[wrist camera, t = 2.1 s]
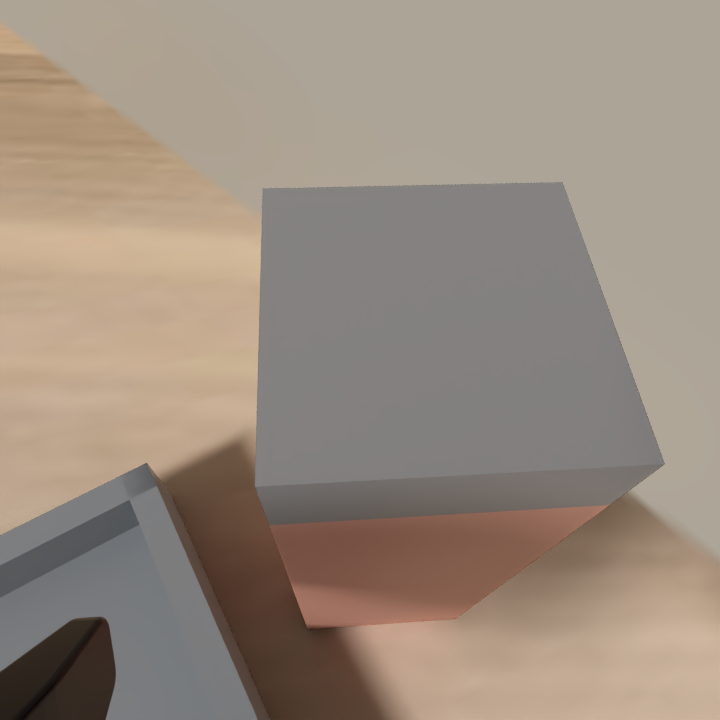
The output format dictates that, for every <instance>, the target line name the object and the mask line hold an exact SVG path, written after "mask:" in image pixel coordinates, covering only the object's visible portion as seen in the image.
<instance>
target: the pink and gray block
mask: <svg viewBox="0 0 720 720" xmlns="http://www.w3.org/2000/svg"><path fill="white" fill-rule="evenodd" d="M664 464H665V463H664V461H663V458H662V455H661V452H660V450H659V447H658V444H657V441H656V438H655V436H654V433H653V430H652V427H651V425H650V422H649V419H648V416H647V414H646V411H645V408H644V405H643V403H642V400H641V397H640V394H639V392H638V389H637V386H636V383H635V381H634V378H633V375H632V373H631V370H630V367H629V364H628V362H627V359H626V356H625V353H624V351H623V348H622V345H621V342H620V340H619V337H618V334H617V331H616V328H615V326H614V323H613V320H612V317H611V315H610V312H609V309H608V306H607V304H606V301H605V298H604V295H603V293H602V290H601V287H600V284H599V282H598V279H597V276H596V273H595V271H594V268H593V265H592V262H591V260H590V257H589V254H588V251H587V248H586V246H585V243H584V240H583V237H582V235H581V232H580V229H579V226H578V224H577V221H576V218H575V215H574V213H573V210H572V207H571V204H570V202H569V199H568V196H567V193H566V191H565V188H564V185H563V182H556V183H511V184H464V185H463V184H461V185H418V186H417V185H416V186H415V185H413V186H366V187H320V188H319V187H318V188H270V189H263V199H262V237H261V275H260V313H259V351H258V388H257V426H256V464H255V488H256V491H257V494H258V496H259V499H260V502H261V505H262V507H263V510H264V513H265V515H266V518H267V521H268V523H269V526H270V529H271V532H272V534H273V537H274V540H275V542H276V545H277V548H278V550H279V553H280V556H281V558H282V561H283V564H284V567H285V569H286V572H287V575H288V577H289V580H290V583H291V585H292V588H293V591H294V594H295V596H296V599H297V602H298V604H299V607H300V610H301V612H302V615H303V618H304V621H305V623H306V626H307V629H319V628H333V627H347V626H361V625H375V624H389V623H403V622H417V621H431V620H445V619H456V618H457V617H459V616H460V615H461V614H463V613H464V612H465V611H467V610H468V609H469V608H471V607H472V606H474V605H475V604H476V603H478V602H479V601H480V600H482V599H483V598H484V597H486V596H487V595H488V594H490V593H491V592H492V591H494V590H495V589H497V588H498V587H499V586H501V585H502V584H503V583H505V582H506V581H507V580H509V579H510V578H511V577H513V576H514V575H516V574H517V573H518V572H520V571H521V570H522V569H524V568H525V567H526V566H528V565H529V564H530V563H532V562H533V561H534V560H536V559H537V558H539V557H540V556H541V555H543V554H544V553H545V552H547V551H548V550H549V549H551V548H552V547H553V546H555V545H556V544H557V543H559V542H560V541H562V540H563V539H564V538H566V537H567V536H568V535H570V534H571V533H572V532H574V531H575V530H576V529H578V528H579V527H580V526H582V525H583V524H585V523H586V522H587V521H589V520H590V519H591V518H593V517H594V516H595V515H597V514H598V513H599V512H601V511H602V510H603V509H605V508H606V507H608V506H609V505H610V504H612V503H613V502H614V501H616V500H617V499H618V498H620V497H621V496H622V495H624V494H625V493H626V492H628V491H629V490H631V489H632V488H633V487H635V486H636V485H637V484H639V483H640V482H641V481H643V480H644V479H645V478H647V477H648V476H649V475H651V474H652V473H653V472H655V471H656V470H658V469H659V468H660V467H662V466H663V465H664Z"/></svg>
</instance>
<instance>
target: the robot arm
mask: <svg viewBox="0 0 720 720" xmlns="http://www.w3.org/2000/svg"><path fill="white" fill-rule="evenodd" d="M115 680H116V666H115V659H114V653H113V646H112V640H111V633H110V627H109V624H108V622H107V619H105V618H104V617H101V616H100V617H85V618H75V619H72V620H70V621H69V622H67V623H66V624H65V625H63V626H62V627H60V628H59V629H58V630H56V631H55V632H54V633H52V634H51V635H49V636H48V637H47V638H45V639H44V640H43V641H41V642H40V643H39V644H37V645H36V646H34V647H33V648H32V649H30V650H29V651H28V652H26V653H25V654H23V655H22V656H21V657H19V658H18V659H17V660H15V661H14V662H13V663H11V664H10V665H8V666H7V667H6V668H4V669H3V670H2V671H0V720H106V717H107V713H108V709H109V706H110V702H111V698H112V695H113V691H114V687H115Z"/></svg>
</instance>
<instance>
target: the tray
mask: <svg viewBox="0 0 720 720" xmlns="http://www.w3.org/2000/svg"><path fill="white" fill-rule="evenodd" d="M100 616H101V617H104V618H105V619H107V622H108V624H109V627H110V633H111V640H112V646H113V653H114V659H115V666H116V680H115V687H114V691H113V695H112V698H111V702H110V706H109V709H108V713H107V717H106V720H270V717H269V715H268V713H267V711H266V708H265V706H264V704H263V702H262V699H261V697H260V695H259V693H258V690H257V688H256V686H255V683H254V681H253V679H252V677H251V674H250V672H249V670H248V668H247V665H246V663H245V661H244V659H243V656H242V654H241V652H240V649H239V647H238V645H237V643H236V640H235V638H234V636H233V634H232V631H231V629H230V627H229V625H228V622H227V620H226V618H225V615H224V613H223V611H222V609H221V606H220V604H219V602H218V600H217V597H216V595H215V593H214V591H213V588H212V586H211V584H210V582H209V579H208V577H207V575H206V572H205V570H204V568H203V566H202V563H201V561H200V559H199V557H198V554H197V552H196V550H195V548H194V545H193V543H192V541H191V538H190V536H189V534H188V532H187V529H186V527H185V525H184V523H183V520H182V518H181V516H180V514H179V511H178V509H177V507H176V504H175V502H174V500H173V498H172V495H171V493H170V492H169V491H168V489H167V488H166V487H165V486H164V484H163V483H162V482H161V480H160V479H159V478H158V477H157V475H156V474H155V473H154V471H153V470H152V469H151V468H150V466H149V465H148V464H147V463H146V464H144V465H142V466H140V467H138V468H135V469H133V470H131V471H129V472H127V473H125V474H123V475H121V476H119V477H117V478H115V479H113V480H111V481H109V482H107V483H105V484H103V485H101V486H99V487H97V488H95V489H93V490H91V491H89V492H87V493H85V494H83V495H81V496H79V497H77V498H75V499H73V500H71V501H69V502H67V503H65V504H63V505H61V506H59V507H57V508H55V509H52V510H50V511H48V512H46V513H44V514H42V515H40V516H38V517H36V518H34V519H32V520H30V521H28V522H26V523H24V524H22V525H20V526H18V527H16V528H14V529H12V530H10V531H8V532H6V533H4V534H2V535H0V671H2V670H3V669H4V668H6V667H7V666H8V665H10V664H11V663H13V662H14V661H15V660H17V659H18V658H19V657H21V656H22V655H23V654H25V653H26V652H28V651H29V650H30V649H32V648H33V647H34V646H36V645H37V644H39V643H40V642H41V641H43V640H44V639H45V638H47V637H48V636H49V635H51V634H52V633H54V632H55V631H56V630H58V629H59V628H60V627H62V626H63V625H65V624H66V623H67V622H69V621H70V620H72V619H75V618H85V617H100Z"/></svg>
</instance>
